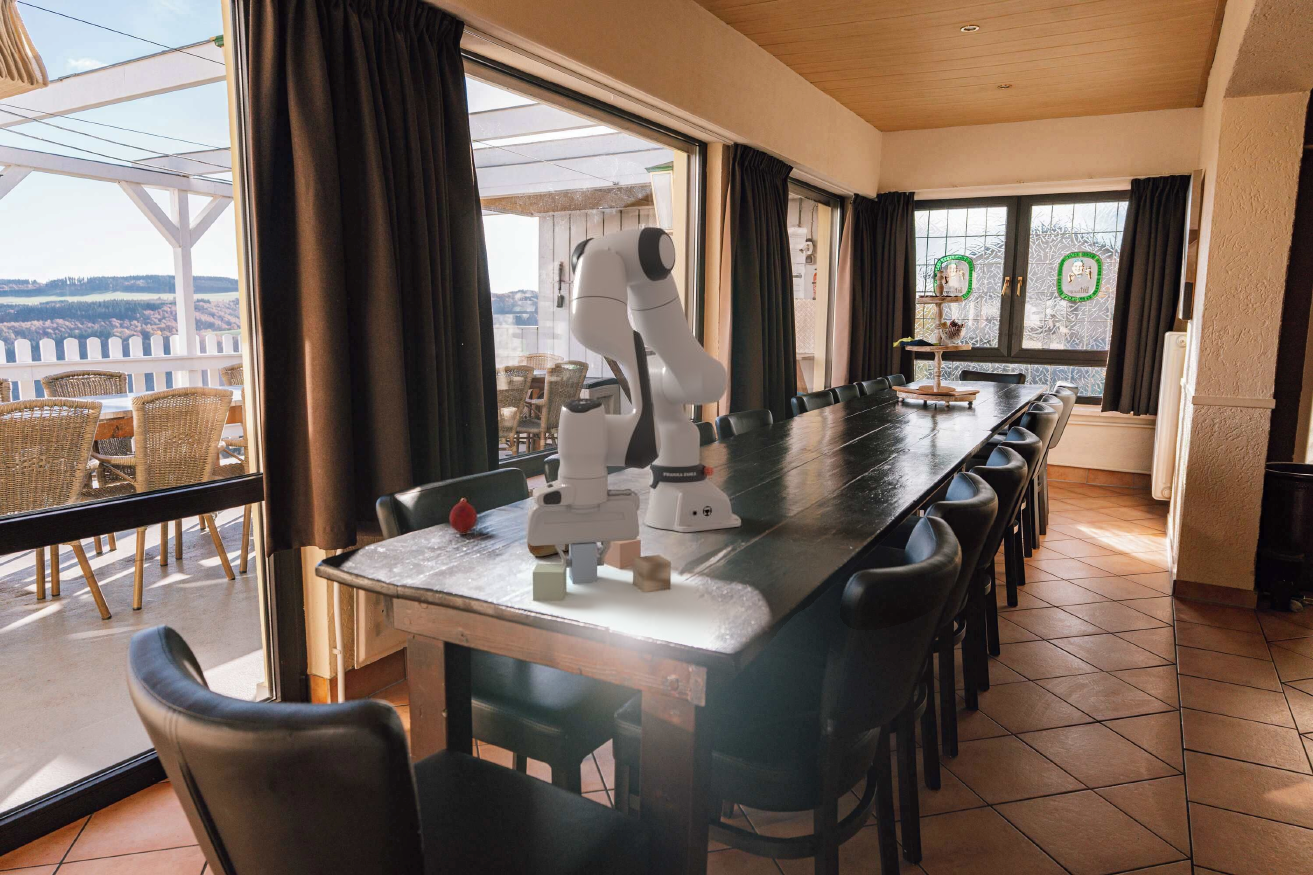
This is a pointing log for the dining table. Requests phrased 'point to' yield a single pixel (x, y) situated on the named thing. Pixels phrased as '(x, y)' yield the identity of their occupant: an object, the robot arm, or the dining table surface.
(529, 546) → the bread roll
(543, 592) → the sage block
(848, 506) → the dining table surface
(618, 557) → the terracotta block
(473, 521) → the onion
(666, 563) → the birch block
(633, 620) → the dining table surface
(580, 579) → the pale blue block
